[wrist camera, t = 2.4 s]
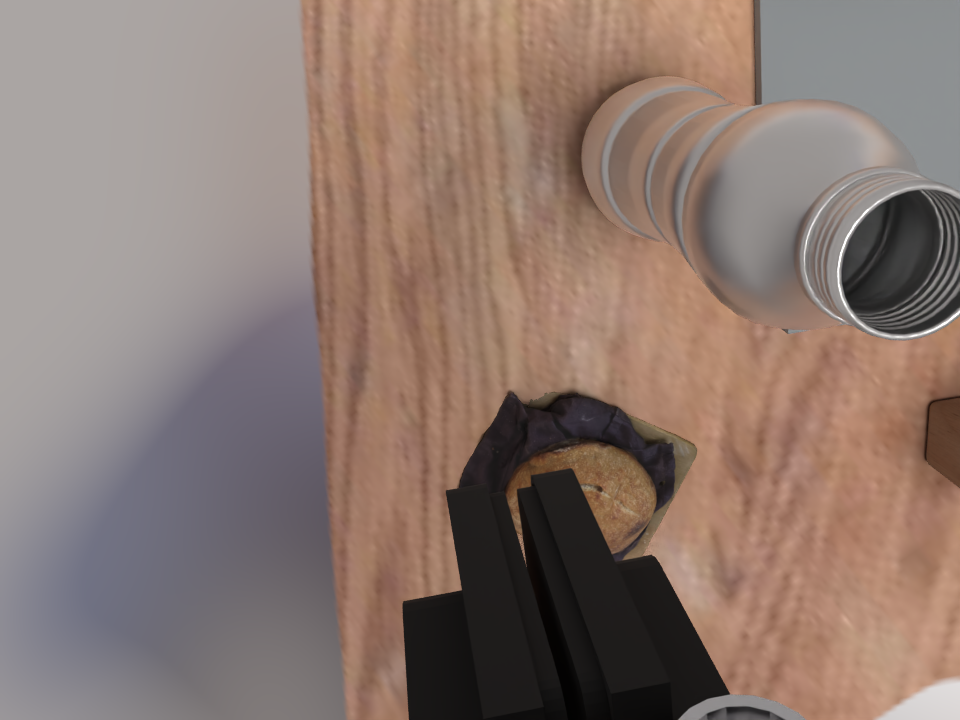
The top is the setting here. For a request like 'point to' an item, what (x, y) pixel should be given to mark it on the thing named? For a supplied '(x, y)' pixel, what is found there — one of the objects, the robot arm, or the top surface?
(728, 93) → the top surface
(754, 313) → the plastic bottle
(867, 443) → the top surface
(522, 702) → the robot arm
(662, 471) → the bread roll
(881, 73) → the tray
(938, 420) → the toy block structure
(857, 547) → the top surface
